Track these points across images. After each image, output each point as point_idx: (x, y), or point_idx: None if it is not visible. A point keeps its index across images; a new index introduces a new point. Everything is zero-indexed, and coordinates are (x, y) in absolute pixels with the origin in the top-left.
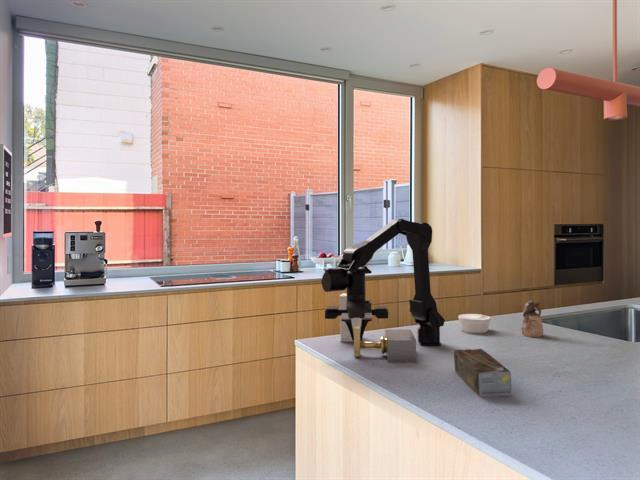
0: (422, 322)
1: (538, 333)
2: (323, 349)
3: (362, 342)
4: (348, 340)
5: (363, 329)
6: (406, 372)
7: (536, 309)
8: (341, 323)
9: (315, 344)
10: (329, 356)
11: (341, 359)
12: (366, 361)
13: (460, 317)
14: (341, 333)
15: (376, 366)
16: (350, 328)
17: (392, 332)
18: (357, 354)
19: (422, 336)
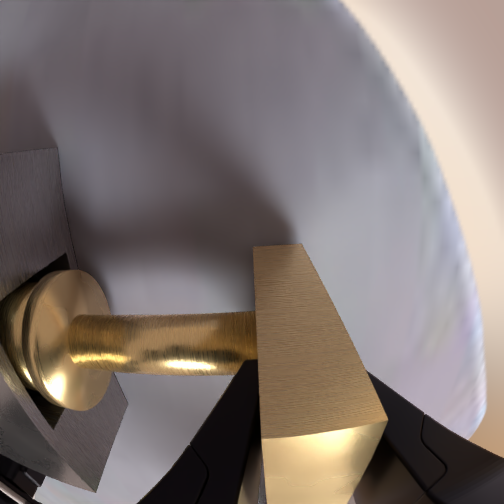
0: (14, 492)
1: None
2: (445, 377)
3: (232, 353)
4: None
5: (197, 462)
6: (7, 17)
7: None
8: None
9: (448, 423)
10: (449, 263)
11: (389, 196)
12: (197, 151)
13: (17, 501)
14: (351, 499)
15: (125, 46)
16: (428, 443)
17: (16, 432)
18: (276, 251)
19: None
